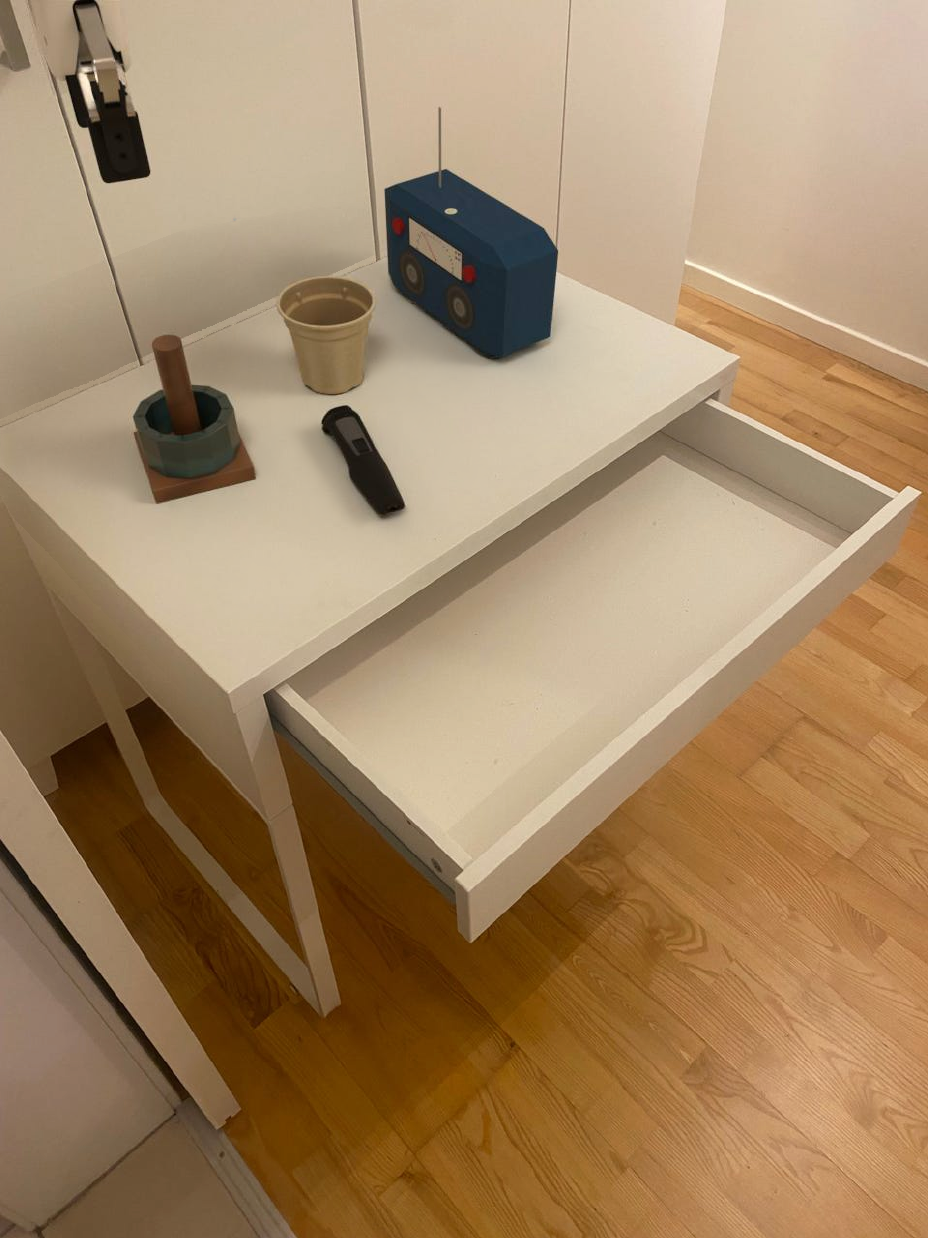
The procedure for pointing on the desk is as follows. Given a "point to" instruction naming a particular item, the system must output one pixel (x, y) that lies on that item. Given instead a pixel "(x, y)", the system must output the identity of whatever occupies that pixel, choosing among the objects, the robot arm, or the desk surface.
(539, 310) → the radio
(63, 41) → the robot arm
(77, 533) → the desk surface
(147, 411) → the ring
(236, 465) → the stand
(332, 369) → the flower pot
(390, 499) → the electric trimmer
